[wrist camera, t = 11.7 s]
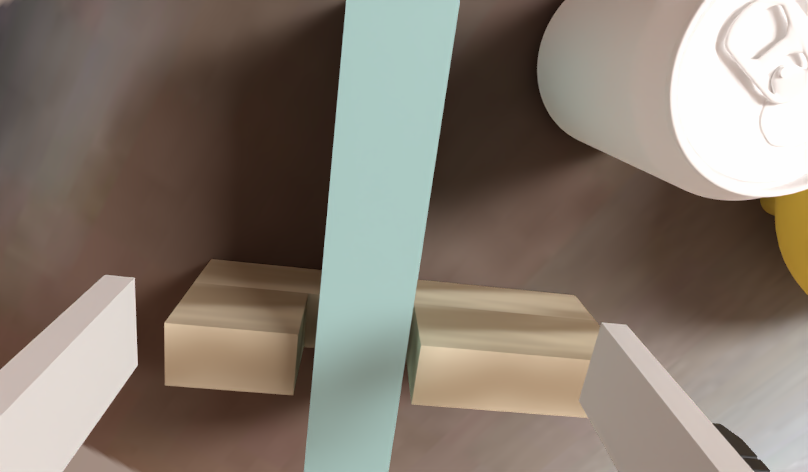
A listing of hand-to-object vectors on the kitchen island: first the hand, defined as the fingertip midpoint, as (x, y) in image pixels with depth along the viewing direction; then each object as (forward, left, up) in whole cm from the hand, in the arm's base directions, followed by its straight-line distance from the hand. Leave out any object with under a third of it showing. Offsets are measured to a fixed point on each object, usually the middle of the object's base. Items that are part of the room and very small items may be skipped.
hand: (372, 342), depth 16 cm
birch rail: (+5, +2, -14) cm, 15 cm away
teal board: (0, 0, -14) cm, 14 cm away
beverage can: (-9, +11, -14) cm, 20 cm away
